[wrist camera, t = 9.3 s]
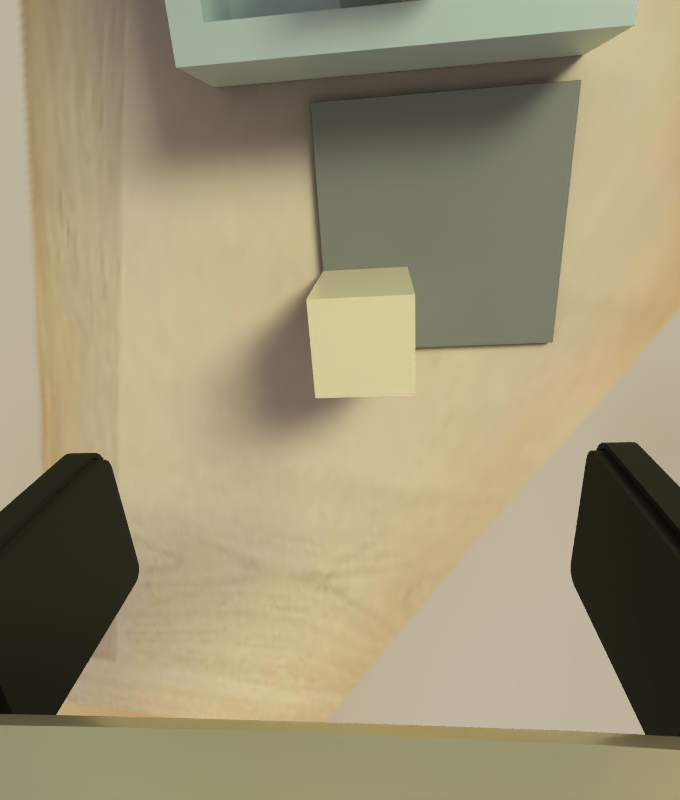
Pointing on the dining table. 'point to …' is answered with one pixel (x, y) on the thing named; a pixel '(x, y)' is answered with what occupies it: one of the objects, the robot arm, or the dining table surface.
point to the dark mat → (453, 202)
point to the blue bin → (379, 35)
